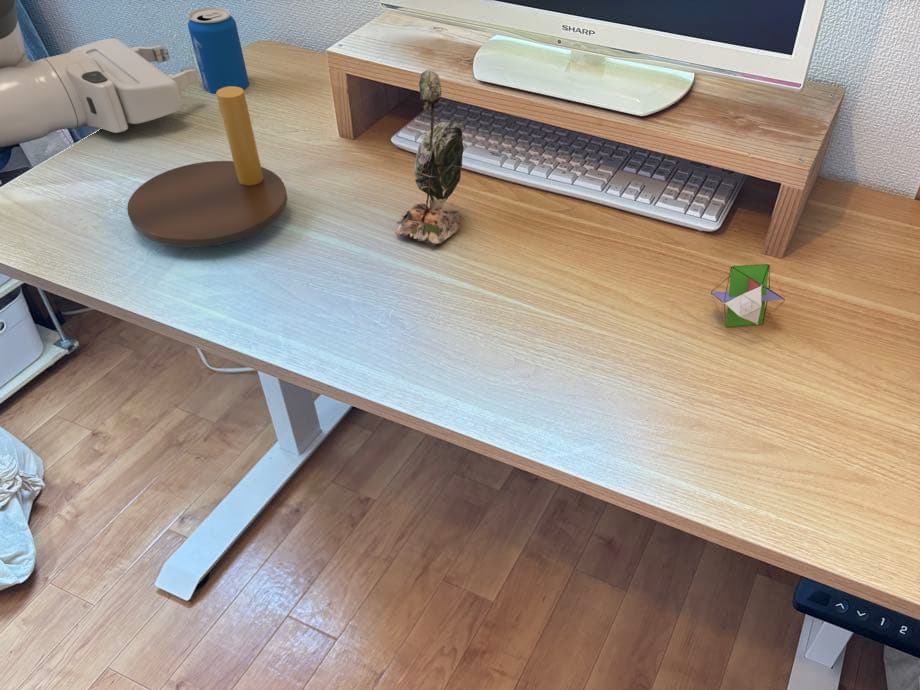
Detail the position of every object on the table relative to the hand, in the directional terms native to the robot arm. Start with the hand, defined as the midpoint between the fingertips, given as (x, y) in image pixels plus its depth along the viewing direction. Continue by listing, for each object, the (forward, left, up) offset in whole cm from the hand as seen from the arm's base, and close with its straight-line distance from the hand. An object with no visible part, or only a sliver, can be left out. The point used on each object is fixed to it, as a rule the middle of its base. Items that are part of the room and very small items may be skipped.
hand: (181, 62), depth 113 cm
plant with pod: (+30, -38, -7) cm, 49 cm away
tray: (+4, -32, -5) cm, 32 cm away
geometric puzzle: (+60, -63, -7) cm, 87 cm away
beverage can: (+5, +2, -7) cm, 9 cm away
